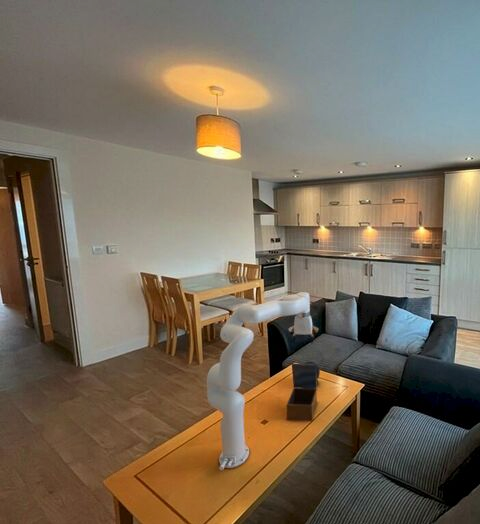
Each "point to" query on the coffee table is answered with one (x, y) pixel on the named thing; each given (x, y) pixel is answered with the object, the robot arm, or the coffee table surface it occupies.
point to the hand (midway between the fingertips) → (303, 342)
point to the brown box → (302, 404)
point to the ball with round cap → (316, 371)
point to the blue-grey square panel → (304, 375)
